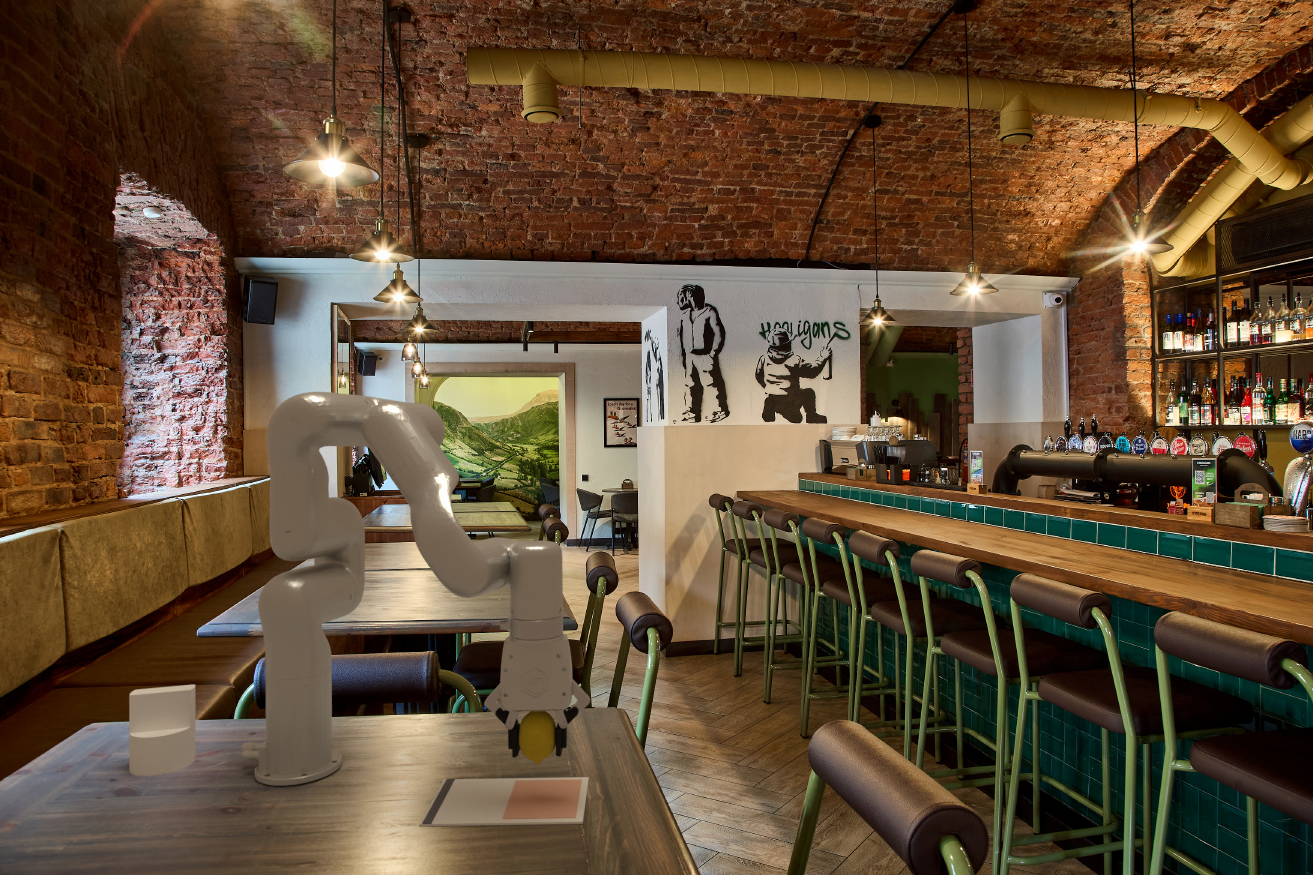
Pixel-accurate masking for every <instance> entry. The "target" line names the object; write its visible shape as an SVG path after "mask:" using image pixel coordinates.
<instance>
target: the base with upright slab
mask: <svg viewBox="0 0 1313 875" xmlns="http://www.w3.org/2000/svg"><path fill="white" fill-rule="evenodd" d="M128 698H129V699H128V700H129V701H128V702H129V704H128V705H129V708H128V709H129V715H128V716H129V719H128V720H129V724H128V726H129V728H128V729H129V733H128V734H129V736H128V737H129V741H128V742H129V747H128V749H129V758H128V760H129V762H128V763H129V765H128V766H129V768H128V769H129V770H128V771H129V774H131V775H133V776H136V777H137V776H138V777H155V776H161V775H166V774H169V773H173V772H177V771H179V770H182V769H184V768H185V769H186V767H188V766H190V765H192V764H193V763H194V762H195V760H196V684H187V685H186V684H184V685H173V686H163V687H162V686H161V687H151V688H149V687H148V688H140V689H134V690H133V691H131V692H130V693H129V696H128Z"/></svg>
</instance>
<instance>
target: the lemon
mask: <svg viewBox="0 0 1313 875" xmlns="http://www.w3.org/2000/svg"><path fill="white" fill-rule="evenodd" d="M519 724H520V727H519V732H518V742H519V747H520V752H521V754H522V755H523V756H524V757H525V758H526V759H528V760H530V761H532V762H533V763H535V765H539V764H541V763H542V762H543V760H546V759H547V758H549V757H550V756H551V755H552V753H553V752H554V751H555V750H556V727H557V724H556V722H555V720H554V718H553V716H552V715H551V714H550V713H548V711H528V713H526V714H525V715H524V716H523V717H522V719H521V722H520V723H519Z"/></svg>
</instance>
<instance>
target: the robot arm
mask: <svg viewBox="0 0 1313 875" xmlns="http://www.w3.org/2000/svg"><path fill="white" fill-rule="evenodd" d="M445 434H446V430H445V424H444V421H443V418H442V417H441V415H440V414H439V413H438V412H437V410H435V409H434V408H432V407H431V406H429V405H427V404H425V403H418V402H406V401H400V400H393V399H387V398H380V397H375V396H367V395H359V394H348V393H338V392H329V391H308V392H302V393H299V394H294V395H293V396H290V397H288V398H286V399H285V400H284V401H282V403H279V405H278V406H277V408H276V409H275V410H274V411H273V413H272V415H271V417H270V418H269V421H268V425H267V429H266V448H267V456H268V461H269V462H268V463H269V464H268V465H269V472H270V473H269V475H270V476H269V477H270V479H269V480H270V482H269V542H270V546H271V550H272V551H273V553H274V554H275V555H276V556H277V557H278V558H279V559H281V560H283V561H287V562H299V561H305V560H314V561H313V562H314V563H313V565H308V566H304V567H300V568H296V569H291V570H288V571H287V570H286V571H284V572H282V573H280V574H278V575H275V576H274V577H272V578H271V579H270V580H268V582H267V583H266V584H265V585H264V586H263V588H262V589H261V591H260V593H259V597H258V605H257V606H258V615H259V620H260V625H261V628H262V634H263V640H264V652H265V653H264V656H265V740H263V742H257V741H255V742H248V741H247V742H244V743H243V744H242V745H241V751H240V753H241V760H242V761H252V760H256V761H257V762H258V764H257V765H256V766H255V768H254V778H255V780H256V781H258V782H259V783H261V784H264V785H269V786H275V787H278V786H279V787H280V786H281V787H283V786H284V787H285V786H287V787H288V786H296V785H301V784H305V783H306V784H307V783H311V782H314V781H316V780H321V779H323V778H325V777H327V776H331V775H332V774H333V773H335V772H336V771H338V769H340V767H341V766H342V764H343V754H342V753H341V752H340V751H339V750H337V749H335V748H333V746H332V744H333V741H332V740H333V738H332V736H333V733H332V730H333V729H332V728H333V724H332V723H333V721H332V720H333V719H332V718H333V716H332V714H333V707H332V706H333V704H332V701H333V700H332V699H333V698H332V696H333V692H332V691H333V689H332V688H333V687H332V686H333V685H332V682H333V681H332V679H333V678H332V677H333V676H332V675H333V674H332V673H333V671H332V669H333V666H332V664H333V663H332V650H331V645H330V643H329V640H328V638H327V636H326V635H325V632H324V629H323V626H322V625H323V624H326V623H329V622H332V621H334V620H337V619H339V618H343V617H345V616H347V615H350V614H351V613H352V612H354V611H355V610H356V609H357V608H358V606H359V605H360V603H361V601H362V599H363V596H364V590H365V581H366V580H365V579H366V578H365V576H366V572H365V570H366V568H365V565H366V564H365V563H366V562H365V561H366V543H365V542H366V535H365V534H366V529H365V524H364V523H365V522H364V520H363V517H362V514H361V512H360V511H359V509H358V508H357V507H356V505H355V504H353V503H352V502H351V501H349V500H348V499H346V498H342V497H336V496H335V497H331V496H330V494H329V493H330V492H329V486H330V484H329V482H330V476H329V469H328V466H327V463H326V461H325V459H324V457H323V455H322V453H321V451H320V449H321V448H324V447H325V448H326V447H363V448H369V449H370V451H371V452H372V454H373V455H374V457H375V458H376V460H377V461H378V462H379V464H380V465H381V467H382V468H383V469H384V471H385V472H386V473H387V475H388V476H389V478H390V479H391V480H392V482H393V483H394V485H395V486H396V488H397V490H398V491H399V492H400V494H402V496H403V497H404V500H405V501H406V502H407V504H408V505H409V509H410V512H409V513H410V525H411V528H412V529H411V530H412V533H413V537H414V538H413V539H414V542H415V544H416V548H417V549H418V551H419V553H420V556H421V557H422V558H423V560H424V561H425V564H427V566H428V568H430V570H431V571H432V573H433V574H434V576H435V577H436V578H437V579H438V581H439V582H440V583H441V585H443V586H444V587H445V589H447V590H448V591H449V592H450V593H452V594H454V595H455V596H457V597H460V598H463V599H472V598H478V597H480V596H482V595H485V594H487V593H490V592H492V591H496V590H497V591H498V590H500V589H503V588H505V587H509V599H510V600H509V603H510V605H509V608H510V609H509V611H510V613H509V615H510V616H509V617H508V618H507V619H506V618H505V619H501V620H500V623H499V628H500V630H504V631H507V632H508V633H509V635H508V636H507V637H506V638H505V639H504V643H503V648H502V653H501V654H502V655H501V664H500V680H499V682H500V683H499V684H498V685H497V686H496V688H494V689H493V691H492V692H491V693H489V695H488V696H487V698H485V701H484V704H483V706H485V707H486V708H487V709H488V710H489V711H490V712H492V714H494V715H495V717H496V718H497V719H498V720H499V721H500V722H502V724H504V725H505V729H506V730H507V748H508V750H511V754H512V755H511V757H512V758H517V757H518V756H519V753H520V752H521V750H520V747H519V742H518V732H519V727H520V724H521V723H520V722H519V719H518V716H519V715H520V712H523V713H524V712H526V713H527V712H531V711H546V712H554V715H555V717H556V720H557V724H556V746H555V756H557V757H559V758H560V757H562V754H563V753H562V752H563V749H567V747H568V725H569V724H570V723H571V722H572V721H573V720H574V719H575V718H576V717H577V716H578V715H579V713H580V712H582V711H583V710H584V709H585V708H586V707H587V706H588V705H589V704H590V702H591V698H590V696H589V695H588V694H587V693H586V692H585V691H584V689H583V688H582V687H581V686H580V685H579V684H578V683H577V682H576V681H575V680H574V678H573V663H572V654H571V647H570V642H569V638H568V634H566V633H564V610H563V609H564V608H563V607H564V600H563V599H564V598H563V597H564V593H563V592H564V590H563V587H564V586H563V585H564V584H563V580H564V579H563V573H564V572H563V550H562V547H561V546H560V544H558V543H557V542H555V541H549V540H530V541H529V540H528V541H522V540H517V539H514V538H513V539H512V538H507V537H490V538H486V539H480V540H477V541H472V539H471V538H470V536H469V535H468V534H467V532H466V531H465V530H464V528H463V527H462V525H461V524H460V522H459V520H458V519H457V516H456V515H455V512H454V509H453V505H452V496H453V495H452V494H453V492H454V490H455V488H456V486H458V483H459V480H460V475H459V472H458V470H457V468H456V467H455V466H454V465H453V463H452V461H450V459H449V458H448V456H447V455H446V454H445V453H444V450H442V448H441V446H442V444H443V443H444V440H445ZM573 696H574V697H575V699H576V700H577V701H576V702H575V703H574V704H572V700H573ZM498 700H499V701H498ZM571 704H572V705H571ZM570 705H571V706H570ZM567 708H568V709H567Z"/></svg>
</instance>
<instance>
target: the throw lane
mask: <svg viewBox="0 0 1313 875" xmlns="http://www.w3.org/2000/svg"><path fill="white" fill-rule="evenodd" d="M589 781H590V777H589V776H582V777H581V776H578V777H577V776H575V777H570V776H569V777H567V776H566V777H530V778H529V777H526V778H525V777H513V778H509V777H508V778H507V777H505V778H501V777H500V778H446V779H445V778H444V779H443V781H442V783H441V784H440V787H439V789H438V790H437V792H436V793H435V795H434V797H433V799H432V801H431V802H430V804H429V806H428V807H427V809H426V812H425V813H424V815H423V817H422V819H421V820H420V822H419V823H418V826H419V827H458V826H459V827H466V826H468V827H469V826H472V827H473V826H519V825H520V826H522V825H523V826H525V825H527V826H528V825H532V826H533V825H538V826H539V825H583V824H584V817H585V810H586V802H587V795H588V788H589Z"/></svg>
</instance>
